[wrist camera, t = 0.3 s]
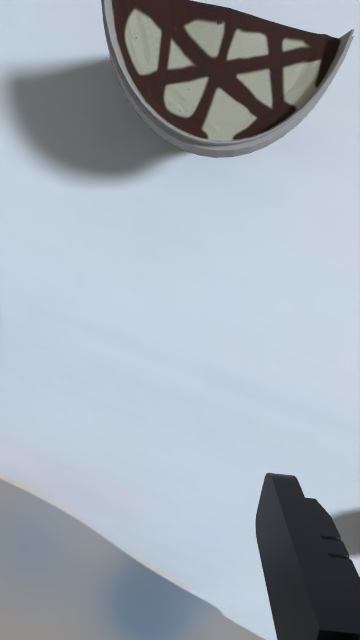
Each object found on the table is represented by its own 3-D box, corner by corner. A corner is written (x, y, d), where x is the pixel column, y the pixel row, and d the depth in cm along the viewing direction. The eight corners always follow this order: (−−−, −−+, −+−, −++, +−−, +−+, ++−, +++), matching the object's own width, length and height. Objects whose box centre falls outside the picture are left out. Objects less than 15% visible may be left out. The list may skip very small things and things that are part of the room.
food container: (122, 141, 25) (80, 126, 16) (132, 43, 23) (90, -39, 14) (272, 176, 26) (313, 180, 17) (300, 85, 23) (366, 32, 14)
